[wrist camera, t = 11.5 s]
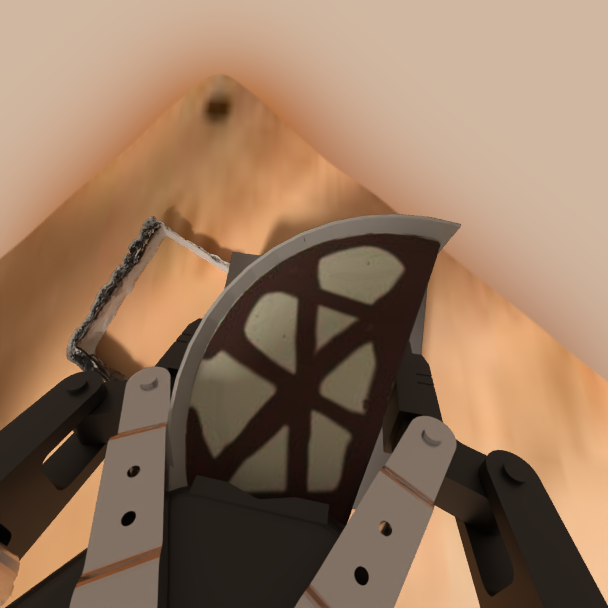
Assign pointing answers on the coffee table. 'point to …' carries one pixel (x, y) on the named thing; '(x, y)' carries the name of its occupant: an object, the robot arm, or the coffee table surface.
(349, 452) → the food container
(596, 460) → the coffee table surface
